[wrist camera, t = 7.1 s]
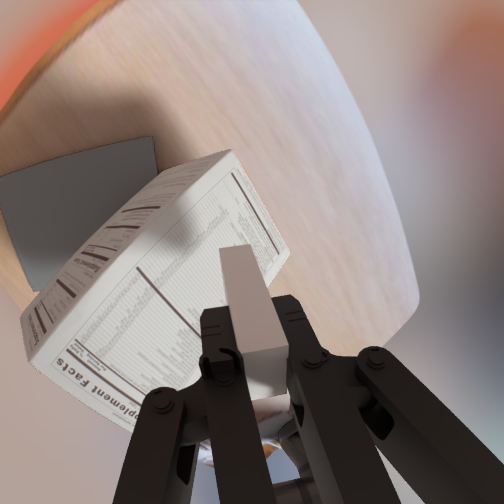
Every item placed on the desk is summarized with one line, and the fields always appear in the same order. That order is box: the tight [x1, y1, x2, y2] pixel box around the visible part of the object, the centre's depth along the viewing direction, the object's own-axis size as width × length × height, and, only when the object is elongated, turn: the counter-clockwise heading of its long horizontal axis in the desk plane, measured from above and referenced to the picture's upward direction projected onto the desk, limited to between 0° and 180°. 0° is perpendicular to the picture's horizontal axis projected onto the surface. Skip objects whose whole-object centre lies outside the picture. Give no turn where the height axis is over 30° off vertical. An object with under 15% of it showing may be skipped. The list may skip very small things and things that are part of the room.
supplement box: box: [20, 149, 290, 433], centre depth 20 cm, size 10×9×17 cm
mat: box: [0, 136, 158, 292], centre depth 25 cm, size 13×17×1 cm
